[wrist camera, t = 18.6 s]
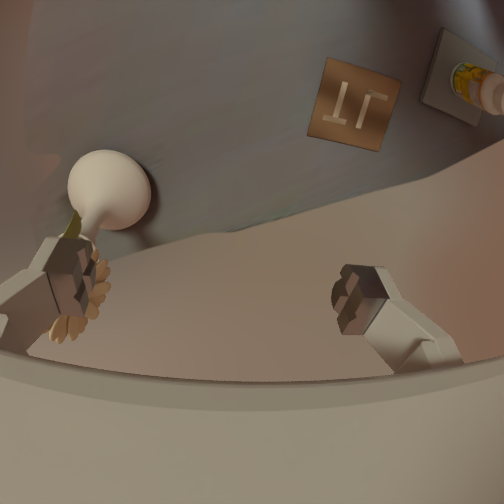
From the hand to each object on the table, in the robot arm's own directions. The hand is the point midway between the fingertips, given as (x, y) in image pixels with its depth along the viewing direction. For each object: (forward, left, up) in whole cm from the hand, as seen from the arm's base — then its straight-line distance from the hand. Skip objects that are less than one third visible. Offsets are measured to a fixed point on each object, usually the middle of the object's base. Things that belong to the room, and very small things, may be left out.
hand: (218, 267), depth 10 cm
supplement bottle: (-10, +30, -28) cm, 43 cm away
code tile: (-1, +16, -29) cm, 33 cm away
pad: (-10, +30, -29) cm, 43 cm away
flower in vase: (+13, -12, -29) cm, 34 cm away
